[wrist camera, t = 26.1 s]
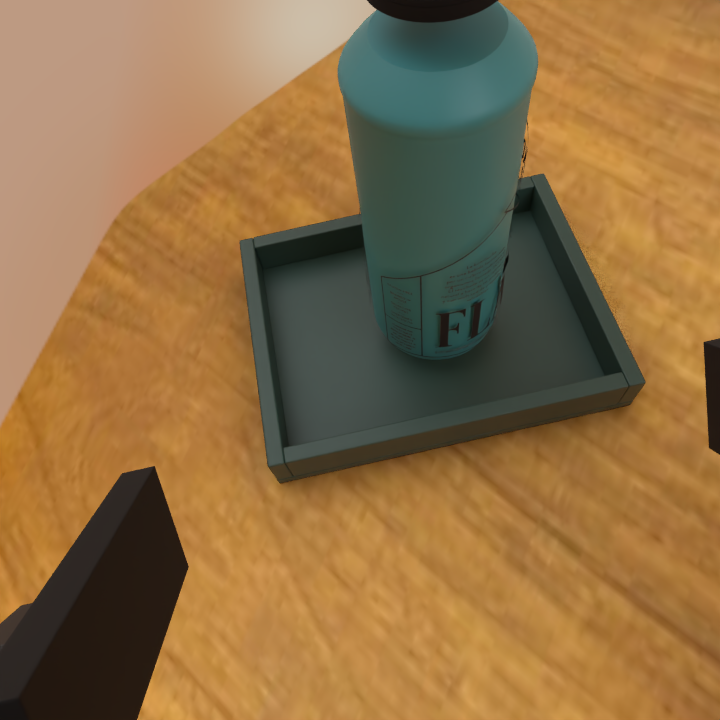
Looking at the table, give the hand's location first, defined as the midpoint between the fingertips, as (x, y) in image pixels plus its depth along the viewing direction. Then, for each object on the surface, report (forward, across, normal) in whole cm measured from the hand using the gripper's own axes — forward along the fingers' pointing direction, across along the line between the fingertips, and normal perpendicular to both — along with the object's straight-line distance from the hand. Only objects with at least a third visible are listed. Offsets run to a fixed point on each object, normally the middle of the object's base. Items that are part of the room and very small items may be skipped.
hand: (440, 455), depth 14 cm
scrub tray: (+19, +2, -2) cm, 19 cm away
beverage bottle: (+18, +3, -2) cm, 19 cm away
